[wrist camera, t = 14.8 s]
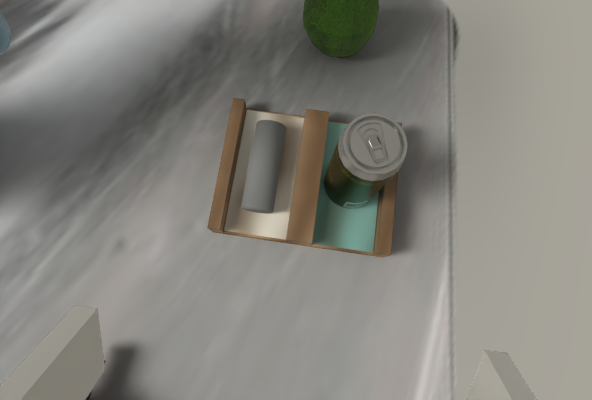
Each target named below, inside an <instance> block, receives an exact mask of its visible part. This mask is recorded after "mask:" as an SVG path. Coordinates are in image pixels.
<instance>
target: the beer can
mask: <svg viewBox="0 0 592 400" xmlns="http://www.w3.org/2000/svg"><path fill="white" fill-rule="evenodd" d="M407 146H408V144H407V139H406V135H405V133H404V131H403V129H402V128H401V126H400V125H399V124H398V123H397V122H396V121H395V120H394V119H392V118H390V117H388V116H386V115H383V114H377V113H370V114H364V115H362V116H359V117H357V118H355V119H354V120H353V121H352V122H350V123H349V124H348V125H347V126H346V127H345V128H344V130H343V131H342V133H341V135H340V137H339V139H338V142H337V145H336V147H335V150H334V153H333V156H332V158H331V161H330V164H329V166H328V169H327V172H326V174H325V179H324V187H325V191H326V193H327V195H328V197H329V198H330V199H331V200H332V201H333V202H334V203H335V204H337V205H338V206H340V207H343V208H348V209H352V208H358V207H360V206H363V205H365V204H366V203H367V202H368V201H369V200H370V199H371V198H372V197H373V196H374V195H375V194H376V193H377V192H378V191H379V190H380V189H381V188H382V187H383V186H384V185H385V184H386V183H387V182H388V181H389V180H390V179H391V178H392V177H393V176H394V175H395V174H396V173H397V172H398V171H399V169H400V168H401V167H402V165H403V163H404V161H405V157H406V154H407Z"/></svg>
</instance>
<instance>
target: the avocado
mask: <svg viewBox="0 0 592 400" xmlns="http://www.w3.org/2000/svg"><path fill="white" fill-rule="evenodd" d="M378 11H379V3H378V0H305V3H304V12H303V20H304V27H305V29H306V31H307V34H308V35H309V37H310V39H311V41H312V43H313V44H314V45H315V46H316V47H318V48H319V49H320V50H321V51H322V52H323V53H325V54H327V55H329V56H334V57H346V56H349V55H353V54H356V53H357V52H358V51H359V50H360V49H361V48H362V47H363V46H364V44H365V43H366V42H367V41H368V40H369V38H370V37H371V36H372V34H373V32H374V28H375V24H376V20H377V15H378Z"/></svg>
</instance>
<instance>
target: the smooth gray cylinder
mask: <svg viewBox="0 0 592 400" xmlns="http://www.w3.org/2000/svg"><path fill="white" fill-rule="evenodd" d="M285 135H286V127H285V126H284V125H283V124H282V123H280V122H277V121H273V120H260V121H258V122H257V123H256V128H255V134H254V139H253V145H252V150H251V156H250V161H249V167H248V172H247V178H246V183H245V189H244V194H243V200H242V205H241V208H243V209H245V210H247V211H251V212H256V213H264V214H270V213H273V210H274V203H275V197H276V191H277V185H278V179H279V172H280V166H281V160H282V154H283V148H284V141H285Z"/></svg>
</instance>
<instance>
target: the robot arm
mask: <svg viewBox="0 0 592 400" xmlns="http://www.w3.org/2000/svg"><path fill="white" fill-rule="evenodd" d="M10 40H11V32H10V29H9V26H8V24H7V22H6V20H5V18H4V16H3V14H2V12H1V11H0V55H1V54H2V53H4V52H5V50H7V48H8V47H9V44H10ZM104 371H105V364H104V356H103V348H102V340H101V332H100V324H99V316H98V308H90V307H81V306H75V307H74V308H73V309H72V310H71V311H70V312H69V313H68V314H67V315H66V316H65V317H64V318H63V319H62V320H61V321H60V323H59V324H58V325H57V326H56V327H55V328H54V329H53V330H52V331H51V332H50V333H49V334H48V335H47V336H46V337H45V339H44V340H43V341H42V342H41V343H40V344H39V345H38V346H37V347H36V348H35V349H34V350H33V351H32V352H31V354H30V355H29V356H28V357H27V358H26V359H25V360H24V361H23V362H22V363H21V364H20V365H19V366H18V367H17V368H16V370H15V371H14V372H13V373H12V374H11V375H10V376H9V377H8V378H7V379H6V380H5V381H4V382H3V383H2V384H1V386H0V400H86V398H87V397H88V395H89V394H90V392H91V391H92V389H93V388H94V386H95V384H96V383H97V381H98V380H99V378H100V377H101V375H102V374H103V372H104ZM466 400H537V399H536V398H535V396H534V394H533V393H532V391H531V390H530V388H529V387H528V385H527V383H526V382H525V380H524V379H523V377H522V375H521V374H520V372H519V371H518V369H517V368H516V366H515V364H514V363H513V361H512V360H511V358H510V356H509V355H508V353H505V352H496V351H487V350H484V352H483V355H482V358H481V361H480V364H479V366H478V369H477V372H476V375H475V377H474V380H473V383H472V385H471V388H470V391H469V394H468V397H467V399H466Z"/></svg>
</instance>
